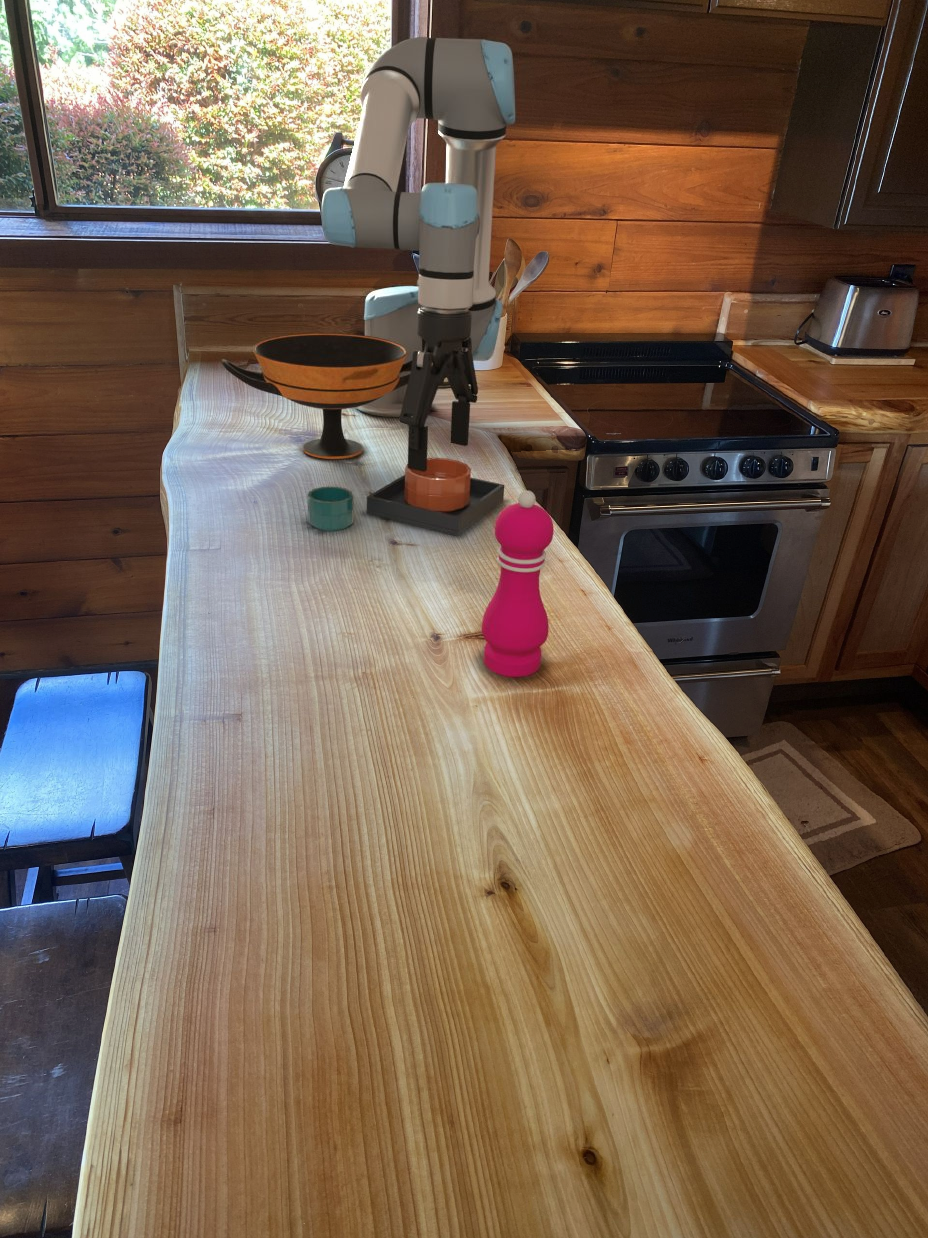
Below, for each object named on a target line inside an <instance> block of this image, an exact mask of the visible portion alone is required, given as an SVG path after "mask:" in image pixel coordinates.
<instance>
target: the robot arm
mask: <svg viewBox="0 0 928 1238" xmlns="http://www.w3.org/2000/svg"><path fill="white" fill-rule="evenodd" d="M514 72H515V71H514V59H513V52H512V49H511V47H510V46H509V45H508V44H506V43H504V42H500V41H494V40H493V41H492V40H487V39H480V38H479V39H477V38H476V39H475V38H448V37H446V38H445V37H428V36H417V37H412V38H407V39H405V40H402V41H400V42H398V43H397V44H395V45H393V46H391V47H390V48H389V49H387V50H386V51H384V52H383V53H382V54H381V55H380V56H378V58H377V59H376V60H375V61H374V63H373V64H372V65H371V66H370V68H369V69H368V71H367V73H366V74H365V75H364V79H363V81H362V85H361V89H360V94H359V103H360V108H361V110H362V113H361V117H360V121H359V124H358V128H357V133H356V136H355V140H354V146H353V148H352V153H351V155H350V161H349V165H348V168H347V171H346V176H345V181H344V185H343V186H339V187H329V188H328V189H326V190H325V191H324V193H323V196H322V201H321V226H322V228H321V229H322V234H323V236H324V239H325V240H326V241H327V242H328V244H330V245H335V246H345V247H350V248H353V249H354V248H365V249H366V248H367V249H368V248H369V249H389V250H403V251H415V252H416V251H417V252H419V255H418V256H419V257H418V278H417V281H416V285H417V286H414V285H403V286H402V285H401V286H392V287H386V288H381V289H376V290H373V291H371V292H370V293H368V295H367V296H366V298H365V301H364V315H363V320H364V336H371V337H377V338H381V339H385V340H389V341H392V342H395V343H398V344H400V345H401V346H403V347H404V348H405V349H406V350H407V356H406V358H405V361H404V363H406V362H408V361H410V360H412V367H410V368H409V369H407V370H405V371H403V372H401V373H399V377H403V376H405V375H408V374H410V377H409V381H408V384H407V385H404V386H402V387H400V388H397V389H395V390H393V391H391V392H389V393H388V394H386V395H384V396H382V397H381V398H379V399H377V400H375V401H373V402H371V403H368V404H365V405H362V406H359V407H356V409H357V410H359V411H360V412H363V413H365V414H369V415H372V416H378V417H385V418H399V419H398V420H399V423H400V424H402V425H406V426H407V427H408V429H407V430H408V431H407V432H408V433H407V434H408V435H407V464H408V468H409V469H414V470H418V471H423V472H425V471H426V470H427V458H428V443H429V442H428V441H429V425H426V422H427V420H428V416H429V414H430V411H431V408H432V406H433V402H434V400H435V397H436V395H437V392H438V389H439V387H448V386H449V387H450V389H451V391H452V393H453V396H454V398H455V400H453V401H451V419H450V421H451V422H450V441H449V443H450V444H453V445H458V446H462V447H467V446H469V436H470V435H469V434H470V418H471V416H470V415H471V403H472V404H476V403H477V402H478V393H479V385H478V382H477V375H476V370H475V364H474V363H475V362H486V361H488V360H490V359H491V358H492V357H493V355H494V353H495V349H496V344H497V339H498V335H499V330H500V326H501V325H500V322H501V317H502V312H503V302H502V300H499V299H497V297H496V295H497V291H496V289H495V287H494V286H492V284H491V283H490V266H491V265H490V263H491V249H492V248H491V245H492V242H491V241H492V228H493V226H492V225H493V211H494V210H493V209H494V192H495V176H496V174H495V173H496V157H497V146H498V144H499V143H500V142H502V140H503V139H504V138H505V137H506V135H507V126H511V125H513V124H515V122H516V94H515V92H516V91H515V73H514ZM416 119H425V120H434V121H438V127H437V132H438V135H439V136H441V138H442V139H443V141H444V142H445V143H446V153H445V154H446V156H445V158H446V159H445V182H427V183H425V184H424V185H423V186H422V188H421V190H420V192H409V191H408V192H406V191H398V186H399V181H400V176H401V171H402V165H403V159H404V155H405V149H406V145H407V140H408V134H409V129H410V127H411V125H412V124H413V123H414V122H415V121H416ZM404 363H403V364H404ZM445 379H447V381H445Z"/></svg>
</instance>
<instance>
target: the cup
mask: <svg viewBox="0 0 928 1238" xmlns="http://www.w3.org/2000/svg"><path fill="white" fill-rule="evenodd" d="M252 348H253V349H252V351H253V353H254V357H255V358H256V360H257V362H258V364H259V366H260V368H261V371H255V370H249V369H246V368H244V367H243V368H242V367H240V366H238V365H236V364H234V363H232V362H230V361H229V360H227V359H224V358H223V359H221V360H220V361H221V365H222V367H224V368H225V370H226V371H228V372H229V373H230V374H231V375H233V376H234V377H235V378H237V379H238V380H239V381H241V382H242V383H244V384H245V385H247V386H250V387H252V388H254V389H256V390H259V391H261V392H265V393H269V394H271V395H275V396H279V397H282V398H285V399H287V400H288V401H291V402H293V403H296V404H298V405H301V406H305V407H307V408H308V407H309V408H313V409H320V410H322V417H323V419H322V430H321V431H322V432H321V436H320V438H318V439H317V438H316V439H312V440H309V441H307V442H306V443H304V445H303V446H302V450H303V452H304V454H306V455H308V456H311V457H313V458H318V459H325V460H341V459H349V458H353V457H356V456H358V455H360V454H362V452H363V445H362V444H361V443H359V442H357V441H355V440H352V439H347V438H346V437H345V435H344V430H343V425H342V424H343V423H342V412H343V410H348V409H354V408H357V407H359V406H362V405H365V404H368V403H371V402H373V401H375V400H377V399H379V398H381V397H382V396H384V395H386V394H388V393H389V392H391V391H393V390H395V389H397V388H400V387H402V386H404V385H407V384H408V381H409V377H410V374H408V375H405V376H403V377H399V373H401V372H403V371H405V370H407V369H409V368H410V367H412V360H410V361H408V362H406V363H404V361H405V358H406V356H407V350H406V349H405V348H404V347H403V346H401V345H400V344H398V343H395V342H392V341H389V340H385V339H381V338H377V337H371V336H365V334H364V335H363V334H354V333H342V332H341V333H339V332H303V333H292V334H291V333H290V334H284V335H278V336H273V337H268V338H265V339H262V340H259V341H258V342H256V343H255V344H254V345H253V347H252ZM403 363H404V364H403Z"/></svg>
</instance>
